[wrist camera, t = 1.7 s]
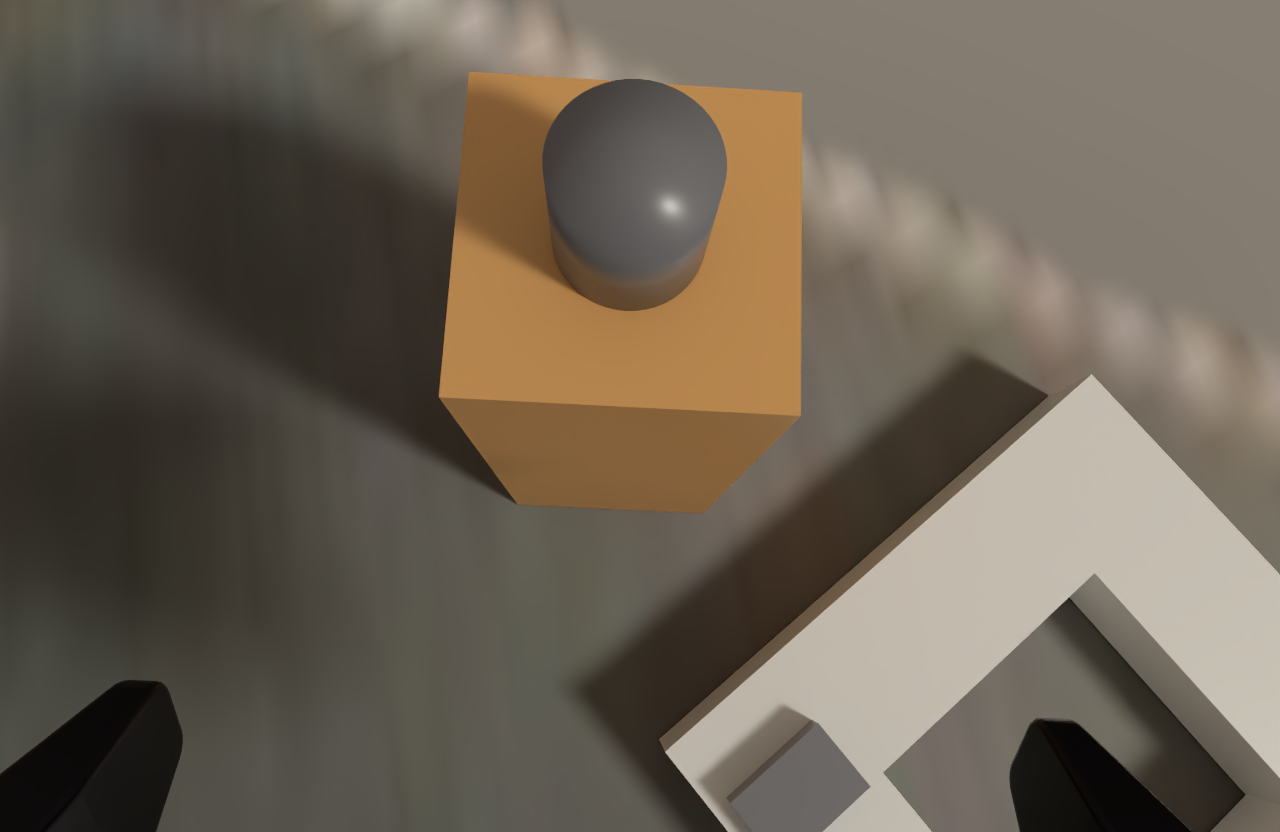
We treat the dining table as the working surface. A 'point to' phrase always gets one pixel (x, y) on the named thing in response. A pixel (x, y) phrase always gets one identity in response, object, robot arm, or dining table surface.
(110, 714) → the robot arm
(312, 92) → the dining table surface
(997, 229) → the dining table surface
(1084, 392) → the socket plate
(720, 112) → the plug
